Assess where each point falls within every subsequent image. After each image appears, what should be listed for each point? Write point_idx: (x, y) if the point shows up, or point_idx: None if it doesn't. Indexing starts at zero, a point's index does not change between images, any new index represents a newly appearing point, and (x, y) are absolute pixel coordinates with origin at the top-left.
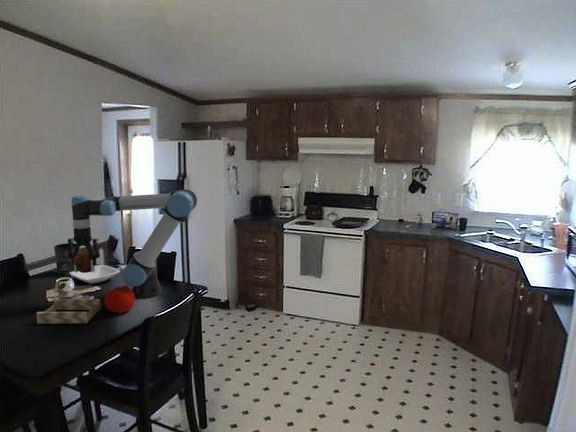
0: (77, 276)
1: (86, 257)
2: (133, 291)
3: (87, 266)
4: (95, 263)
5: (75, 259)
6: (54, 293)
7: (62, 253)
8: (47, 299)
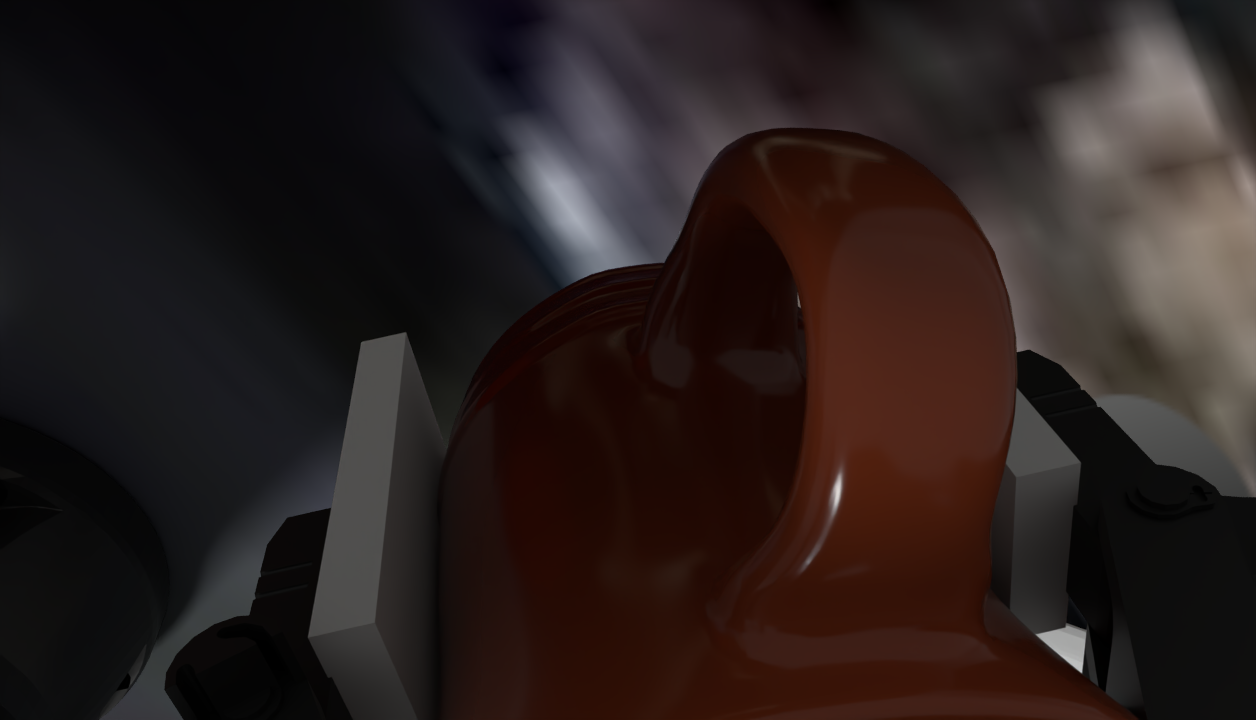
0: (1069, 644)
1: (526, 663)
2: (9, 489)
3: (509, 413)
4: (267, 586)
5: (863, 216)
6: (1197, 290)
7: None
8: (1212, 78)
